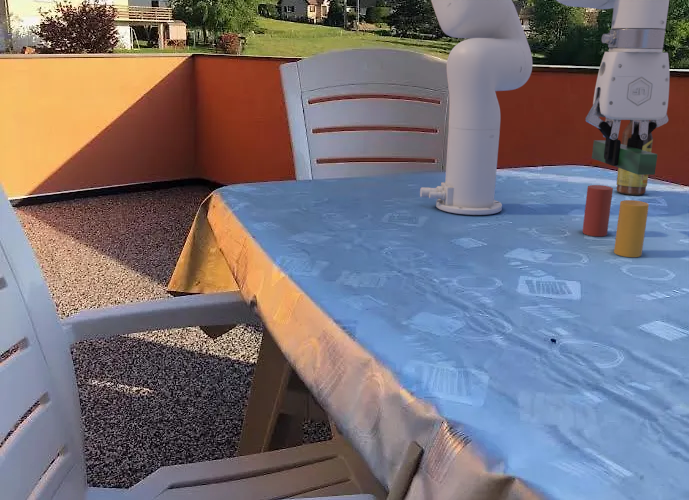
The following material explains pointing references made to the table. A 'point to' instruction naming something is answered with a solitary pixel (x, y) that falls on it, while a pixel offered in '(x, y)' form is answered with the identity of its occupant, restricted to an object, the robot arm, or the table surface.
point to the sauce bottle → (629, 180)
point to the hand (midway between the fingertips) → (621, 163)
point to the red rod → (597, 210)
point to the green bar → (628, 158)
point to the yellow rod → (631, 228)
